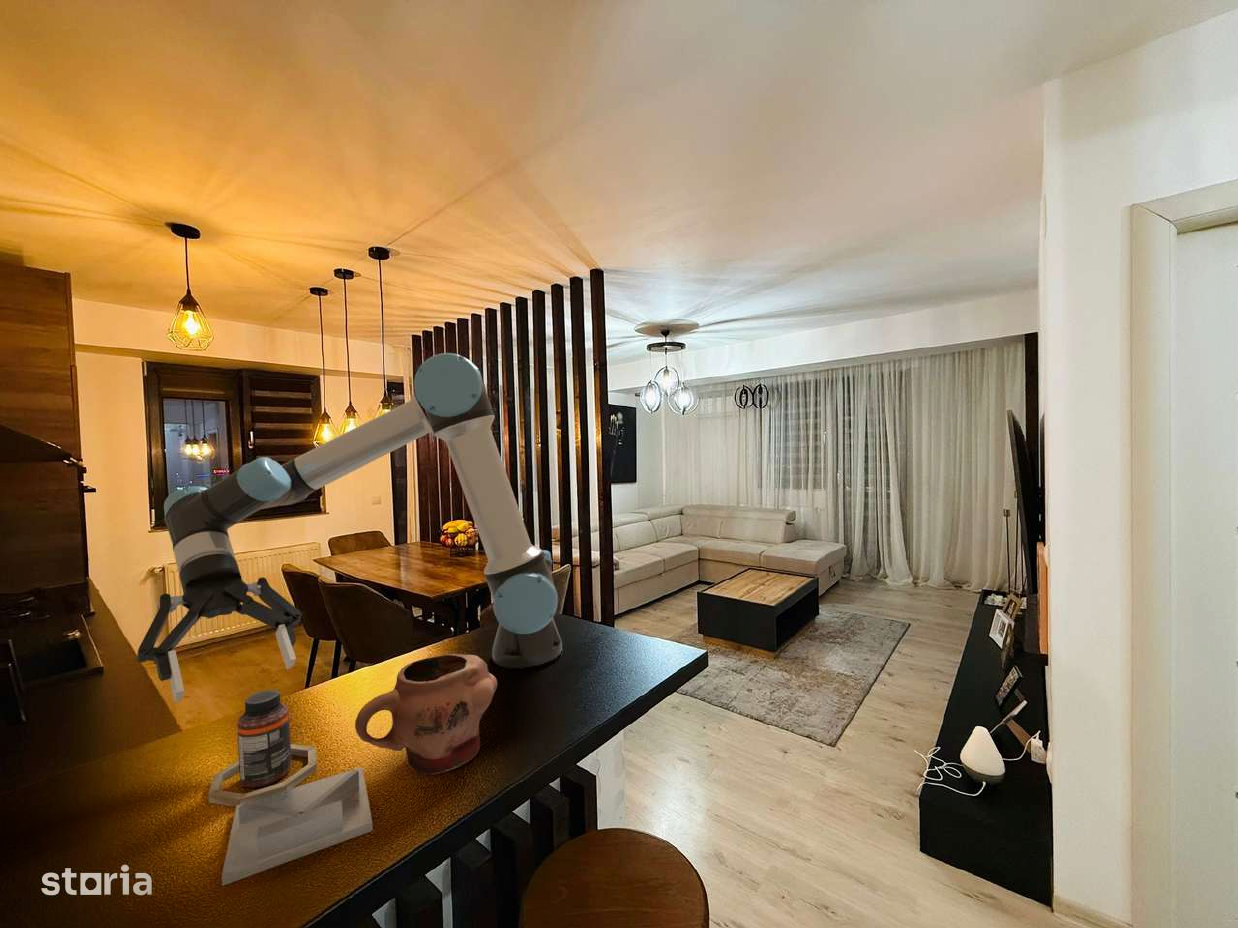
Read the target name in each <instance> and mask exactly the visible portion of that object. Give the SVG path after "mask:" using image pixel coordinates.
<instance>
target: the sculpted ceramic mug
mask: <svg viewBox="0 0 1238 928" xmlns="http://www.w3.org/2000/svg"><path fill="white" fill-rule="evenodd" d="M497 686H498V681H497V678H496V677H495V675H493V674H492V673H490V671H489V667H488V664H487V663H486V662H485V661H484V659H482V658H480V657H479V656H478V655H476V654H475V655H474V654H460V653H448V654H447V653H446V654H443V655H437V656H432V657H426V658H423V659H419V660H415V661H413V662H410V663H408V664H407V665H404V666H403V667H402V668H400V671H399V672H398V673H397V675H396V682H395V685H394V687H393V690H391V691H388V692H386V693H382V694H380V695H377V696H375V697H374V698H372V699H371V700H369V701H368V702H367V703H366V704H364V705H363V706H362V707H361V709H360V710H359V712H358V713H357V716H356V719H355V722H354V729H355V732H356V734H357V736H358V737H359V739H360V740H361V741H362V742H365V743H367V744H370V745H372V746H375V747H378V748H381V749H387V750H390V751H391V750H392V751H395V752H401V751H403V749H405V752H406V756H407V763H408V765H409V767H410V768H411V769H412V770H414V771H415V772H417V773H418V774H421V775H437V774H441V773H445V772H448V771H451V770H454V769H456V768H459V767H461V766H462V765H464V764H465V763H468V762H469V761H471V760H473V759H474V757H476V756H477V754H478V753H479V750H480V749H481V748H480V747H481V741H480V739H481V738H480V728H479V727H480V721H481V719H482V716H483V715H484V713H485V712H486V710H487V709H488V708H489V706H490V704H491V702H492V699H493V696H494V694H495V692H496V690H497V688H498V687H497ZM382 711H388V712H389V713H391V718H392V719H391V720H392V721H391V723H392V724H391V728H390V730H389V731H388V732H387V734H386V735H384V736H383V737H380V738H379V737H377V738H376V737H373V736H371V734H369V732H368V731H367V730H368V727H367V726H368V723H369V722H370V720H371V718H373V716H374V715H375V714H378V712H382Z"/></svg>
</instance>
